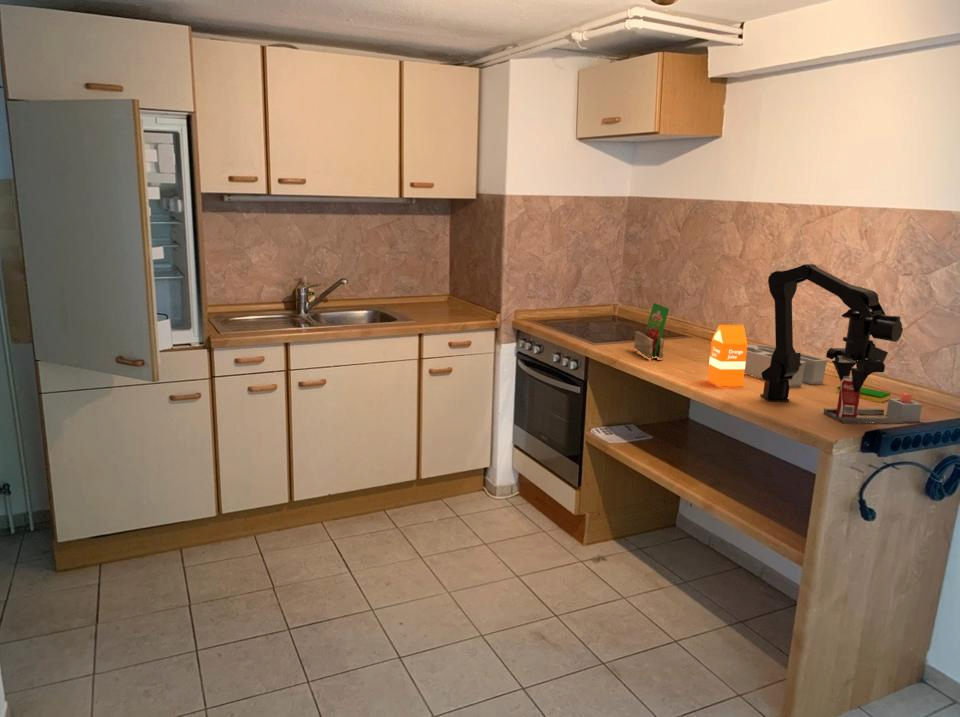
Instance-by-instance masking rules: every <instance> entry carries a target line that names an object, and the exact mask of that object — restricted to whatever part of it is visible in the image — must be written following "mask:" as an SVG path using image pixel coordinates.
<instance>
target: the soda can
mask: <svg viewBox="0 0 960 717" xmlns="http://www.w3.org/2000/svg"><path fill="white" fill-rule="evenodd" d="M860 391H861V388H860V390H859V392H854V389H853V381H852V375H850V376H843V379H842V380H841V381H840V392H839V393H838V400H837V406H836V409H837V413H836V415H837V416H839V417H858V415H857V411H858V409H859V402H860V399H861V398H860Z"/></svg>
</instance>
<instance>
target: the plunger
mask: <svg viewBox="0 0 960 717" xmlns="http://www.w3.org/2000/svg"><path fill="white" fill-rule="evenodd" d="M912 398H913V394H912V393H909V392H901V393H900V398H899V399H900V402H902V403H911V400H912Z"/></svg>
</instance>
